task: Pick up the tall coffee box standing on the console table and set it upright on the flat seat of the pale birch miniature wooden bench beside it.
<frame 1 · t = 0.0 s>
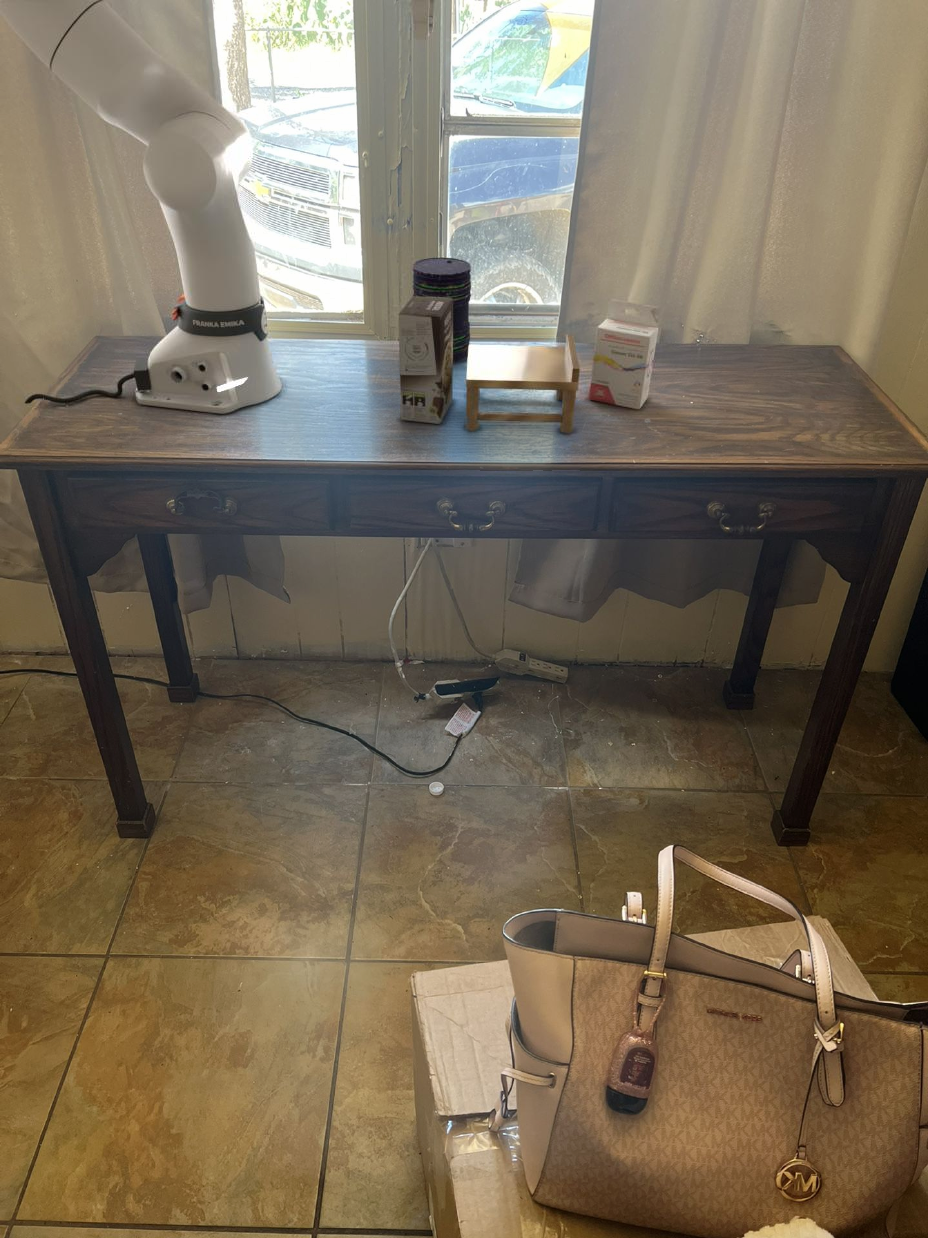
hand: (424, 35, 112), 48 cm above the table, tool pointing down, fingers open, 8 cm apart
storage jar: (441, 354, 156), on the table
coffee box: (427, 411, 137), on the table
ink cartridge box: (618, 400, 141), on the table
miniature wooden bench: (518, 412, 136), on the table
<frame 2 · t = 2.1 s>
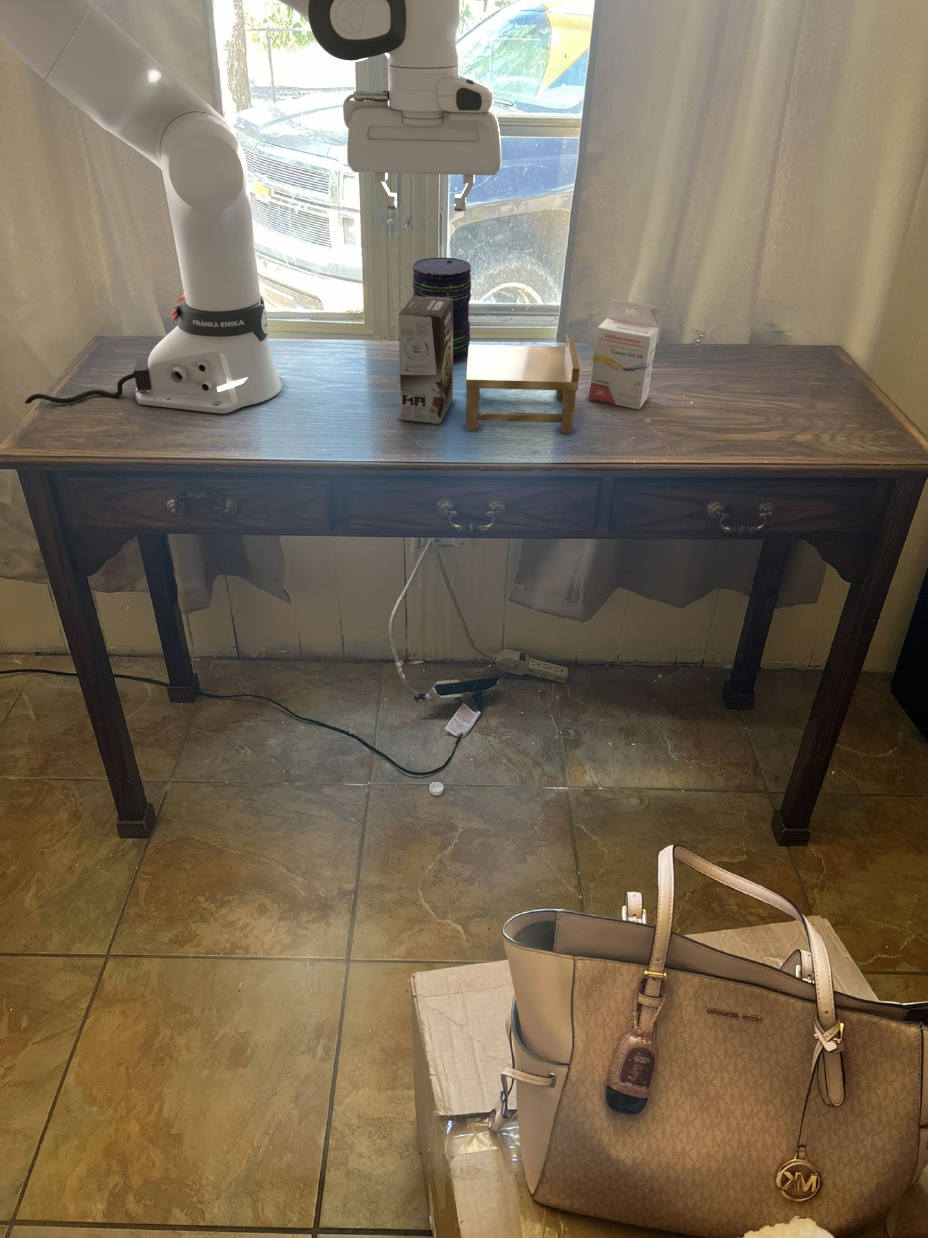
hand: (425, 209, 120), 29 cm above the table, tool pointing down, fingers open, 8 cm apart
nothing on the table moved.
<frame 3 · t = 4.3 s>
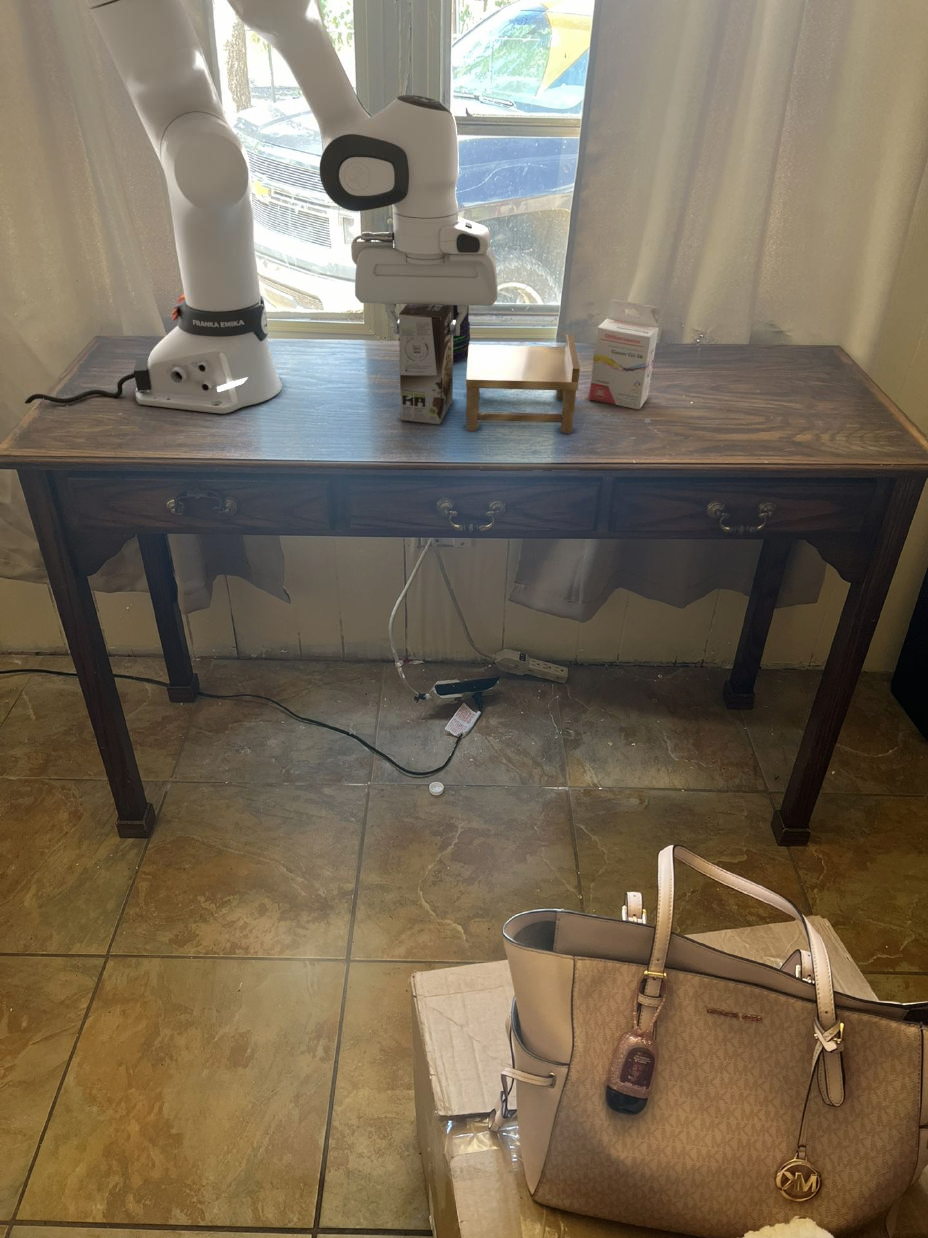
hand: (427, 333, 129), 12 cm above the table, tool pointing down, fingers closed on coffee box, 7 cm apart
coffee box: (427, 412, 137), on the table, touching gripper
everything else where it was.
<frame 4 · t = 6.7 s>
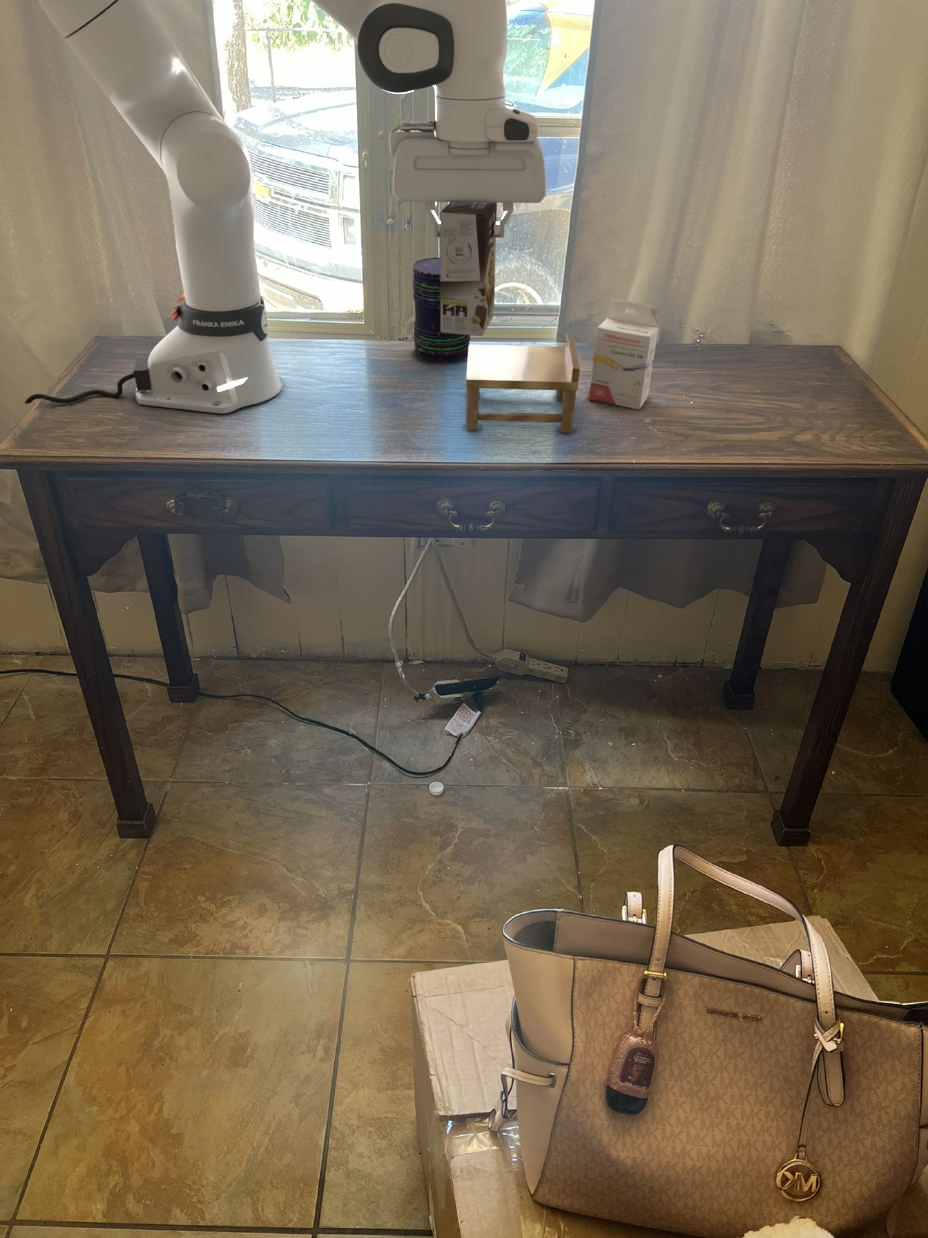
hand: (469, 236, 121), 26 cm above the table, tool pointing down, fingers closed on coffee box, 7 cm apart
coffee box: (468, 325, 128), point 13 cm above the table, touching gripper
everything else where it was.
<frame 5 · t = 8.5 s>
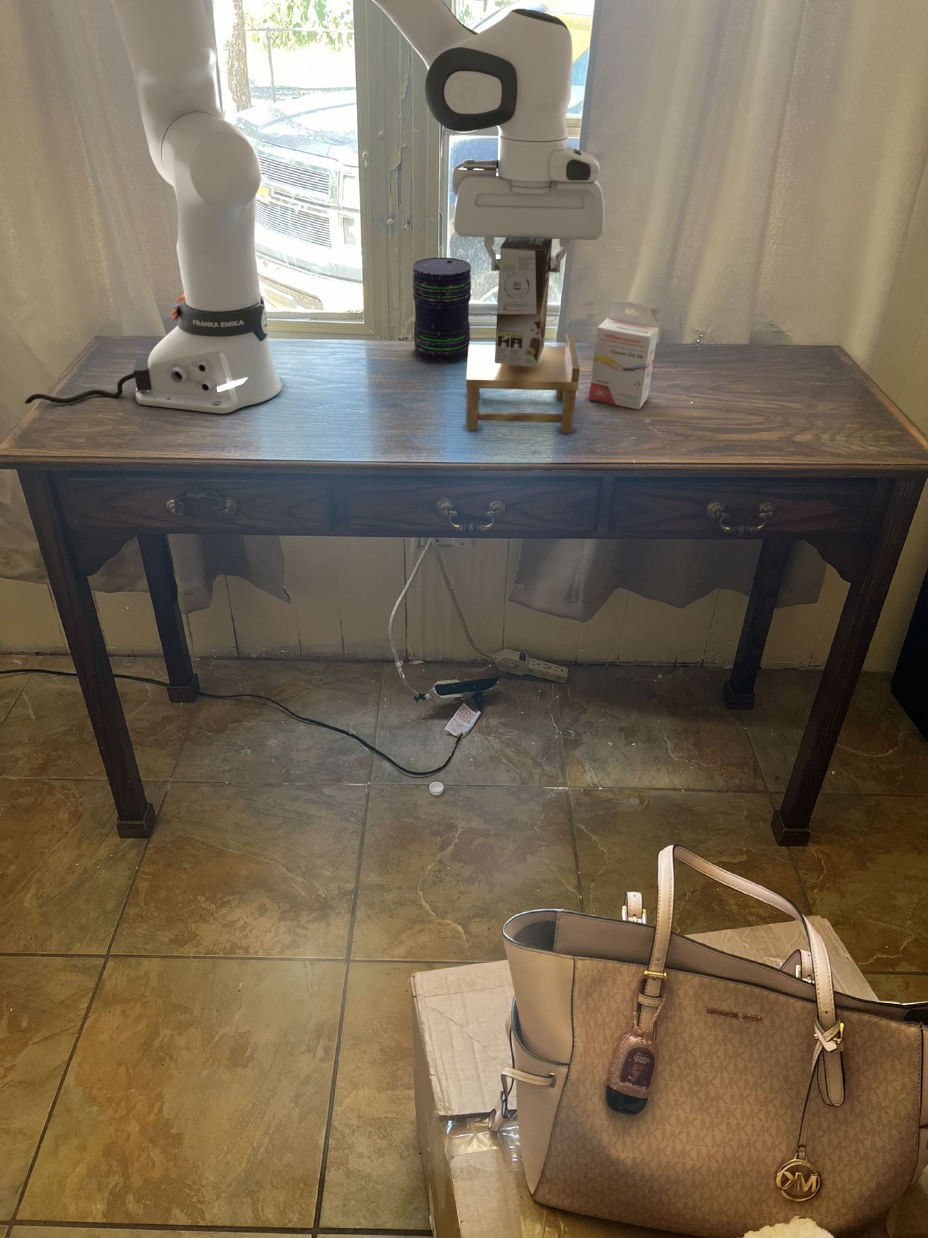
hand: (525, 270, 124), 21 cm above the table, tool pointing down, fingers closed on coffee box, 7 cm apart
coffee box: (520, 356, 131), point 9 cm above the table, touching gripper
everything else where it was.
when the fingers open (20 cm above the table, at t = 9.5 s): coffee box stays where it is, resting on miniature wooden bench.
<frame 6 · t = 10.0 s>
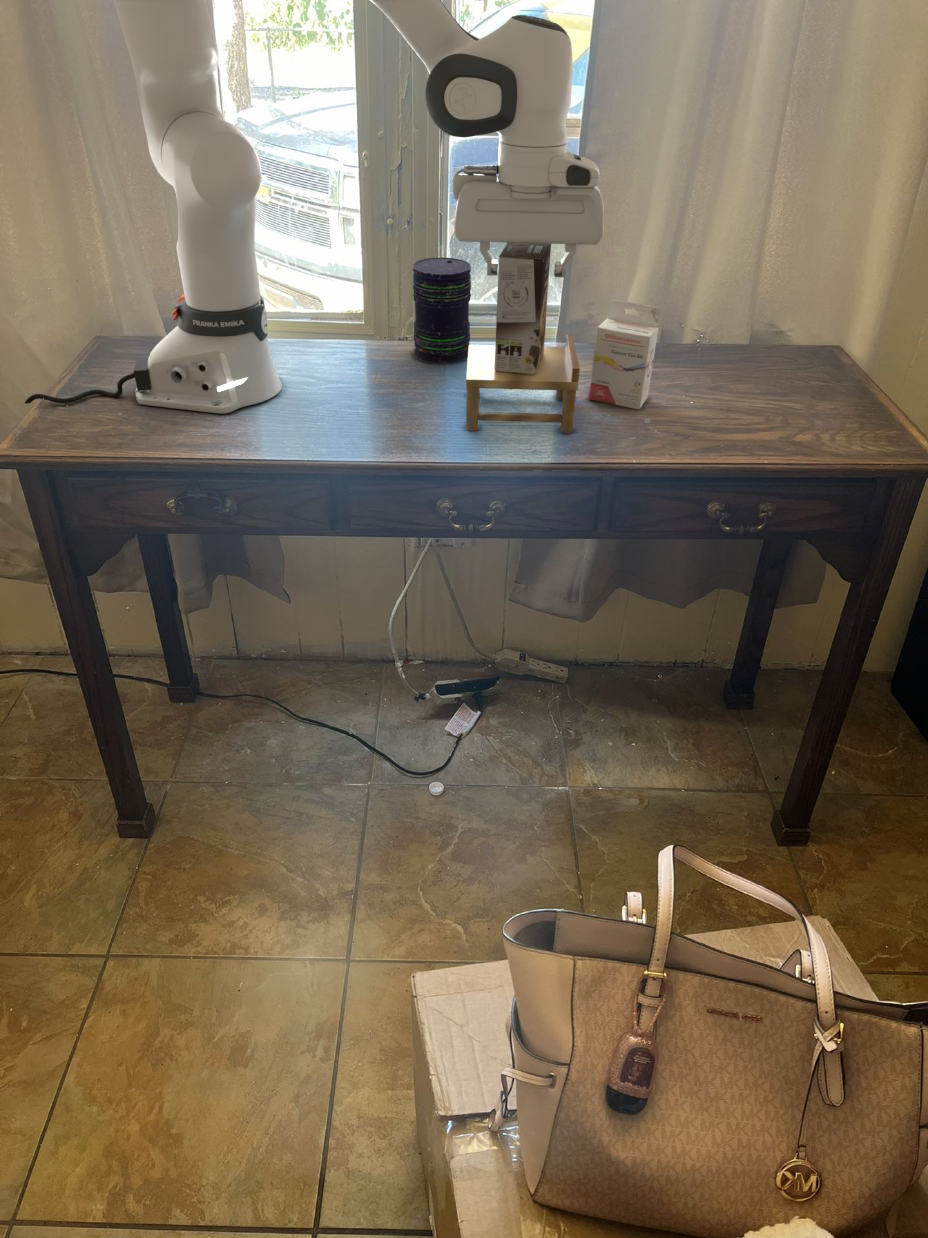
hand: (525, 275, 124), 21 cm above the table, tool pointing down, fingers open, 8 cm apart
coffee box: (519, 363, 132), point 8 cm above the table, touching miniature wooden bench
everything else where it was.
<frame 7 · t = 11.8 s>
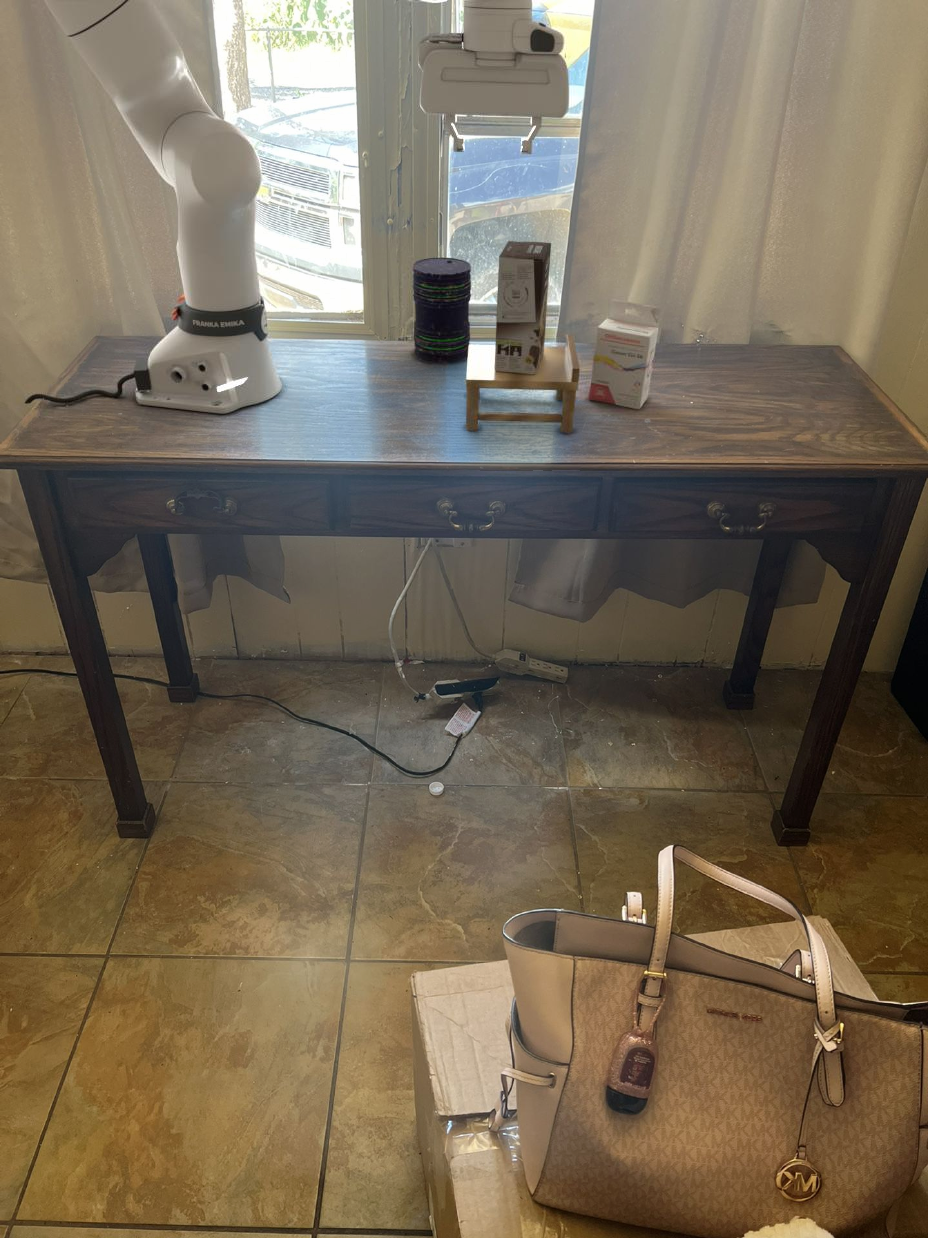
hand: (492, 152, 124), 34 cm above the table, tool pointing down, fingers open, 8 cm apart
nothing on the table moved.
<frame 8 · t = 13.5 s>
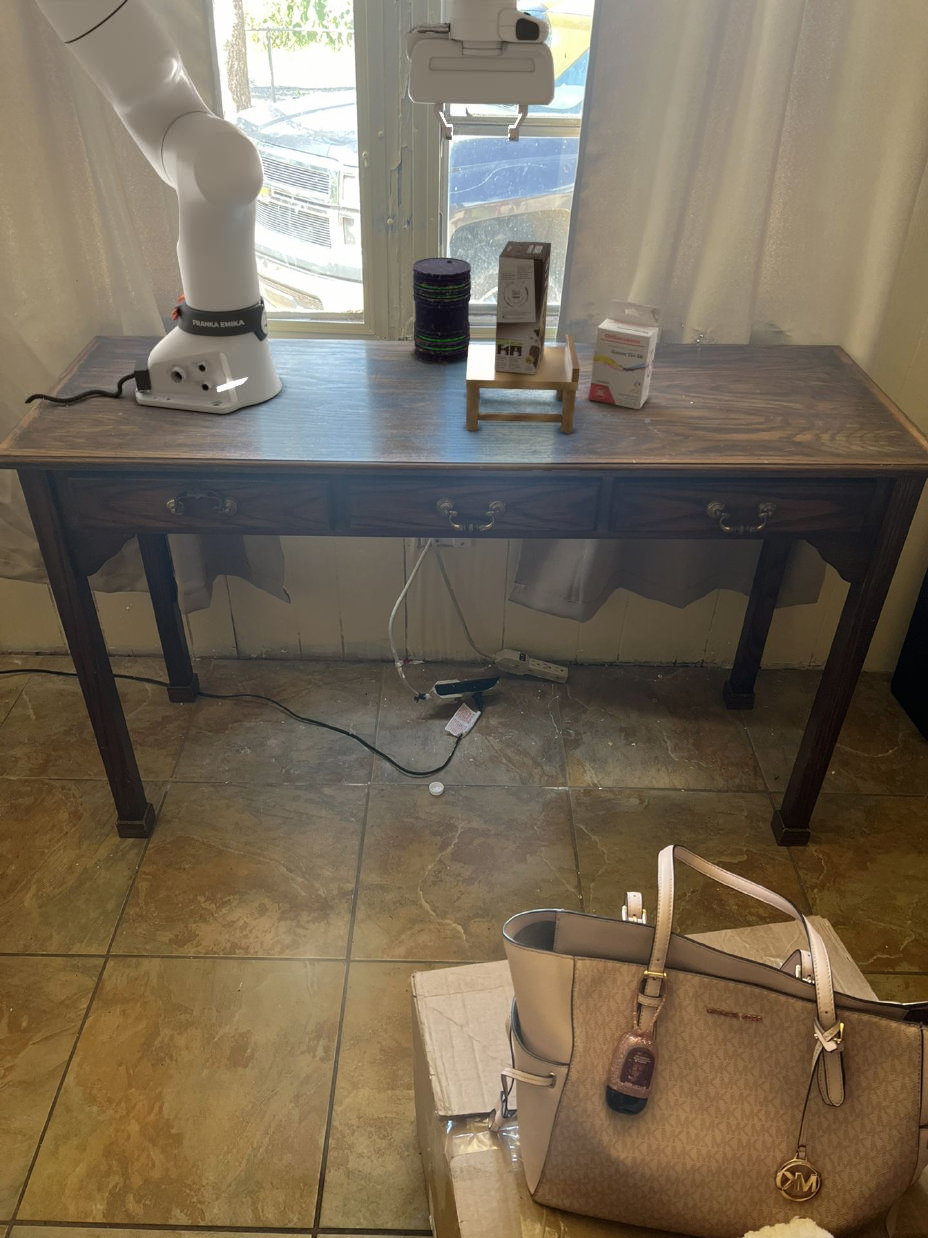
hand: (480, 140, 126), 35 cm above the table, tool pointing down, fingers open, 8 cm apart
nothing on the table moved.
at the end: coffee box inside the target area on the miniature wooden bench (0.2 cm from its centre), point 7.8 cm above the miniature wooden bench's base; coffee box tilted 0°; the gripper is holding nothing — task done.
